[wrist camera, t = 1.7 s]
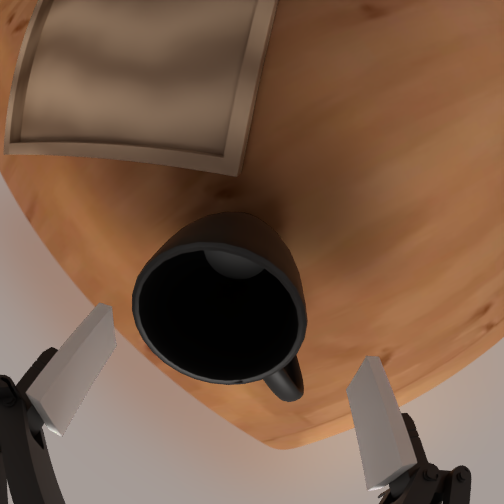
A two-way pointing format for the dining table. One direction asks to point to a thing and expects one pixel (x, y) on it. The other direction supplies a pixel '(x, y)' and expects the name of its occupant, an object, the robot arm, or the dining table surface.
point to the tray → (140, 81)
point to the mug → (225, 304)
